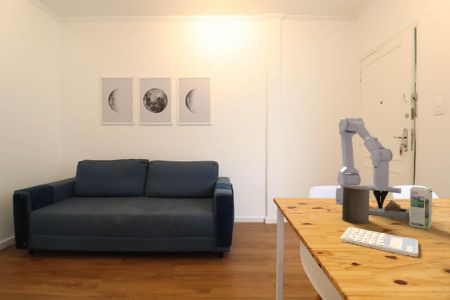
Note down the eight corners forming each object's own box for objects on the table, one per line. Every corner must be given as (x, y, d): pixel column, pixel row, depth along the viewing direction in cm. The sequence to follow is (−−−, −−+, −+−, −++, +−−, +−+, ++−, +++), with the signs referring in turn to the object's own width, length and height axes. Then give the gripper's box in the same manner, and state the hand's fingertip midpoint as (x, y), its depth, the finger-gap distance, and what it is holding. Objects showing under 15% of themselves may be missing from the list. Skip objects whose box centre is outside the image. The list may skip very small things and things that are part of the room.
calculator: (348, 231, 92) (348, 225, 92) (418, 244, 80) (418, 238, 80) (339, 242, 81) (339, 236, 81) (418, 259, 69) (418, 252, 69)
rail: (357, 214, 112) (357, 206, 112) (360, 210, 118) (360, 203, 118) (409, 222, 101) (409, 213, 101) (409, 217, 107) (409, 209, 107)
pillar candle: (341, 221, 101) (342, 184, 101) (342, 215, 110) (343, 180, 109) (369, 225, 97) (370, 186, 96) (368, 218, 105) (369, 182, 105)
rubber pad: (375, 210, 119) (375, 209, 119) (376, 207, 125) (376, 206, 125) (393, 212, 115) (393, 211, 115) (393, 209, 121) (393, 208, 121)
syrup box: (408, 226, 96) (409, 187, 96) (413, 223, 100) (414, 186, 99) (427, 230, 92) (428, 189, 91) (431, 226, 95) (432, 188, 95)
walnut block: (384, 210, 108) (391, 202, 106) (384, 207, 111) (391, 199, 110) (393, 216, 106) (400, 208, 105) (393, 213, 110) (400, 205, 108)
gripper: (360, 176, 111) (360, 207, 111) (400, 179, 102) (400, 212, 103) (363, 174, 117) (362, 204, 117) (401, 177, 108) (401, 209, 108)
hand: (380, 208), depth 110 cm, fingers closed
